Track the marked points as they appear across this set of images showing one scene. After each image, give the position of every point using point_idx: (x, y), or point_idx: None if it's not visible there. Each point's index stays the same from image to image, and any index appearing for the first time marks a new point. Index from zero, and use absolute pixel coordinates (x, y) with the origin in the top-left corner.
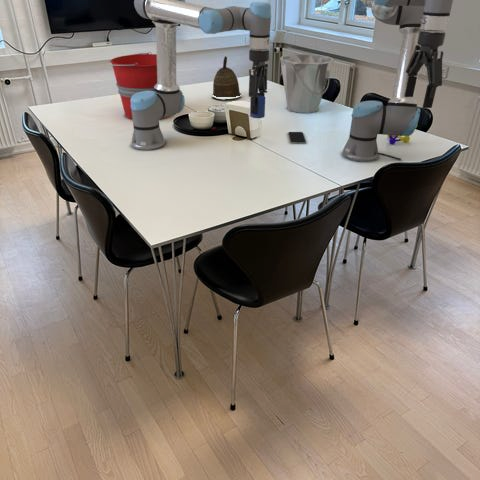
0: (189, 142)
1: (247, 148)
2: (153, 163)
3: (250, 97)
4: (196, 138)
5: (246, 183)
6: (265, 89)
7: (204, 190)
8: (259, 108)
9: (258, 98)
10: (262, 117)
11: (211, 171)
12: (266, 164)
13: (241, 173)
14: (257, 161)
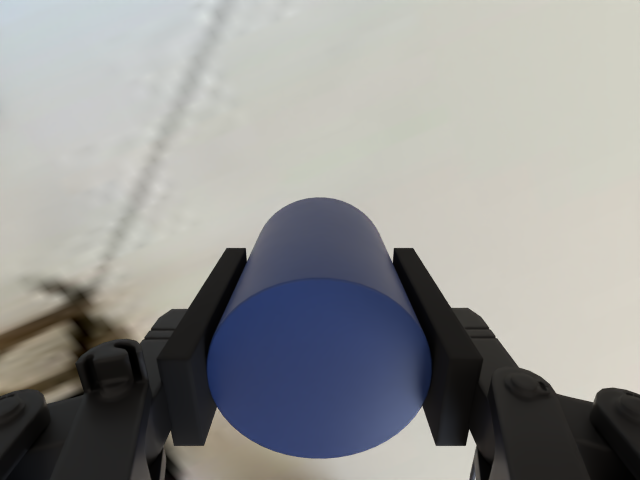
0: (241, 453)
1: (182, 269)
2: (451, 457)
3: (362, 447)
4: (195, 451)
5: (535, 128)
6: (47, 408)
7: (626, 244)
8: (389, 260)
9: (389, 349)
10: (346, 203)
11: (458, 292)
12: (310, 127)
13: (442, 187)
14: (295, 177)
